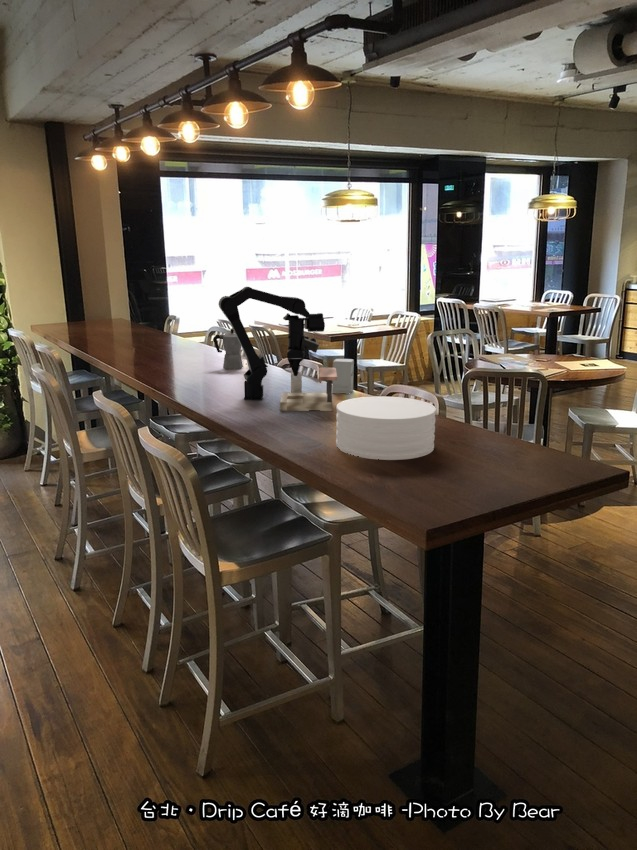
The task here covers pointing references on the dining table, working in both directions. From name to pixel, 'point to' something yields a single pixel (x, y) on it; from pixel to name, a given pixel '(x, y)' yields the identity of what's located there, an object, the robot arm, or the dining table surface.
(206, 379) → the dining table surface
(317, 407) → the socket block
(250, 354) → the robot arm
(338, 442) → the plate stack
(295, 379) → the peg
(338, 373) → the supplement box
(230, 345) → the coffeepot
